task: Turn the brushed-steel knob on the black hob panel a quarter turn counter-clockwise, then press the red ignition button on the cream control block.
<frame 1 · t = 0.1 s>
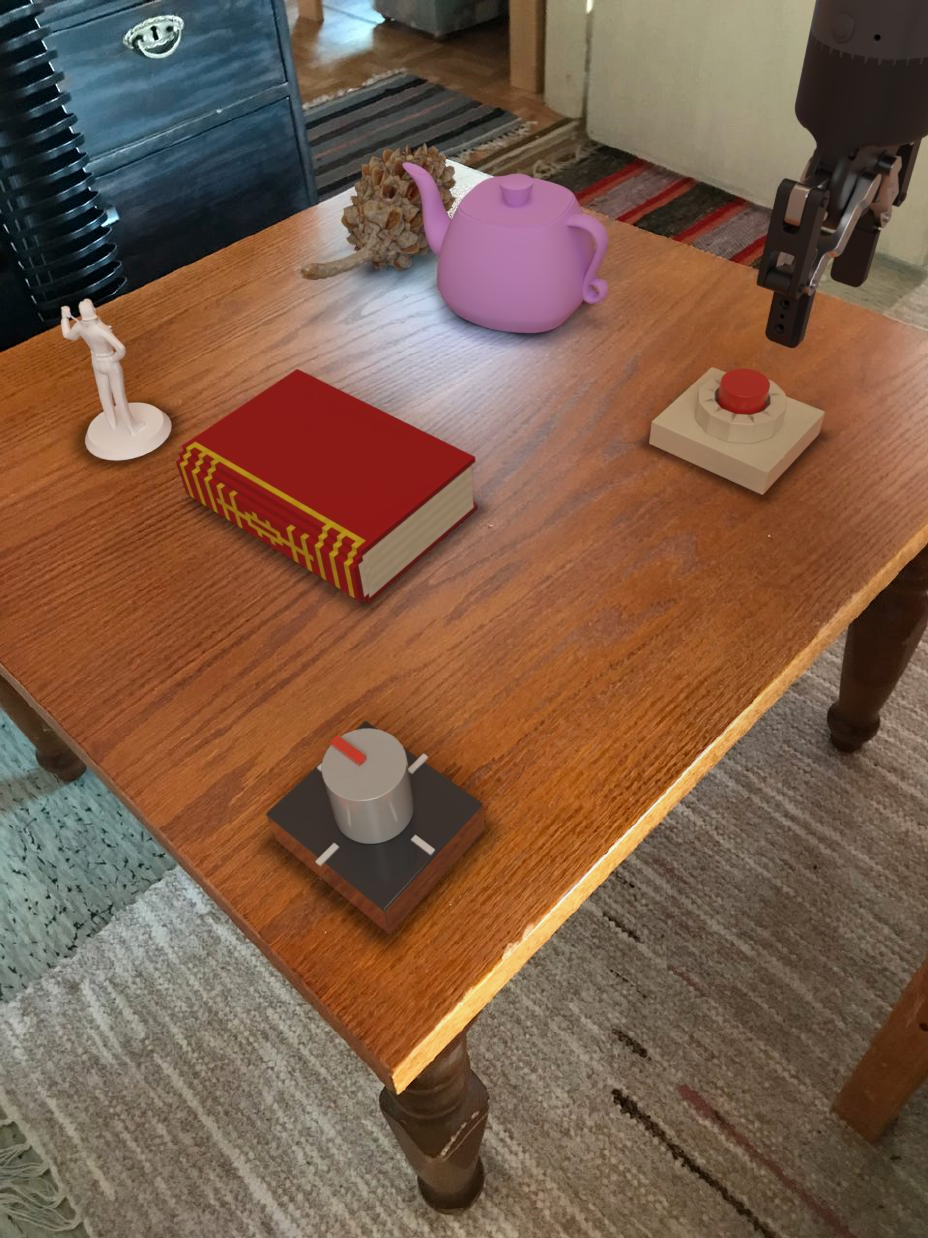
hand: (816, 310, 62), 15 cm above the table, tool pointing down, fingers open, 8 cm apart
pine cone: (383, 274, 97), on the table
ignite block: (733, 439, 78), on the table
hob panel: (380, 835, 56), on the table
figurine: (129, 434, 82), on the table
burner knob: (368, 784, 52), point 5 cm above the table, hinge at 0.0°
teapot: (505, 303, 92), on the table
ignite button: (743, 391, 74), point 4 cm above the table, slide at 0.1 cm
book: (332, 507, 75), on the table
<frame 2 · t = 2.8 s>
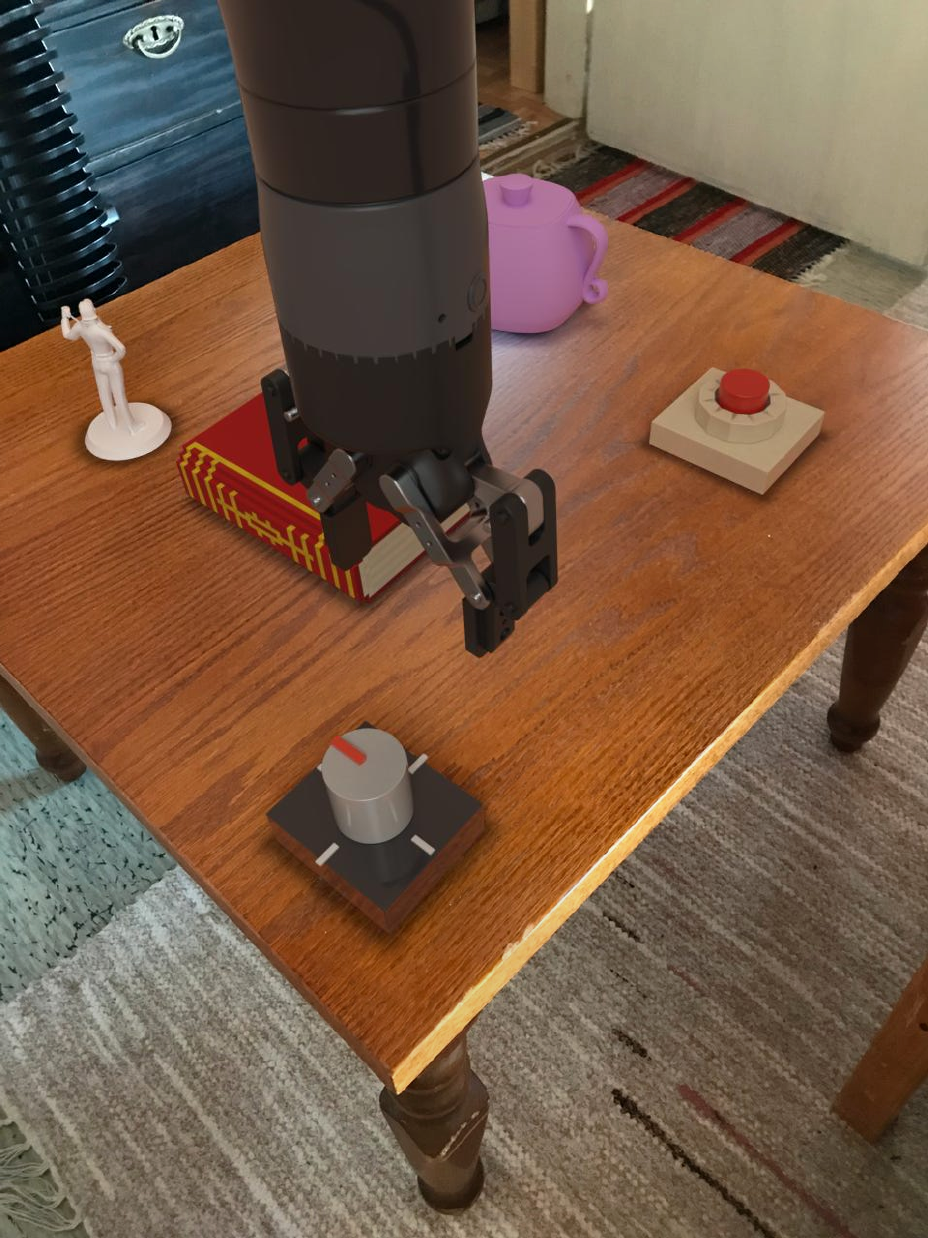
hand: (417, 599, 46), 16 cm above the table, tool pointing down, fingers open, 8 cm apart
nothing on the table moved.
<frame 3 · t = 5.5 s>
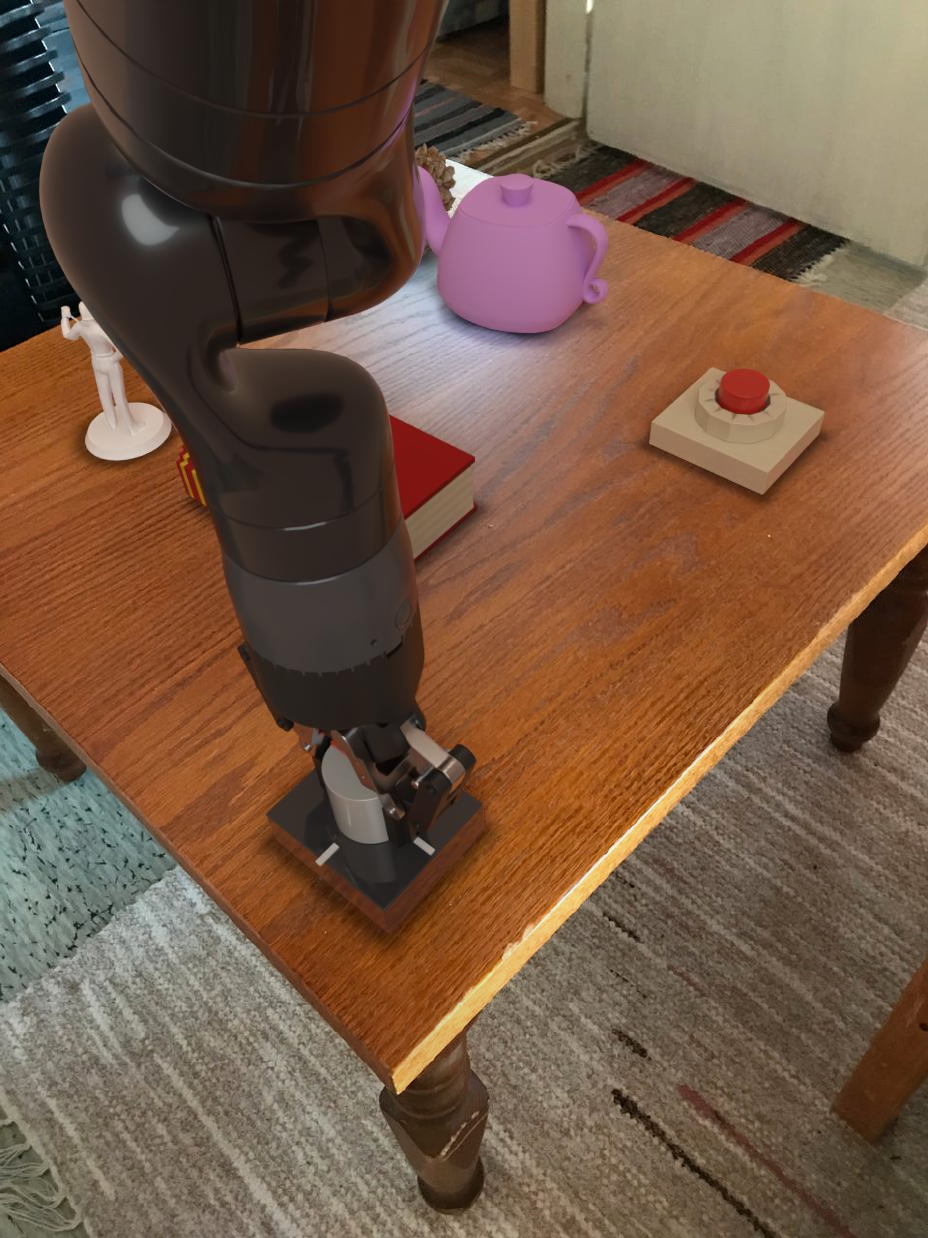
hand: (373, 806, 54), 3 cm above the table, tool pointing down, fingers closed on burner knob, 4 cm apart
burner knob: (368, 784, 52), point 5 cm above the table, hinge at -0.1°, touching gripper
everything else where it was.
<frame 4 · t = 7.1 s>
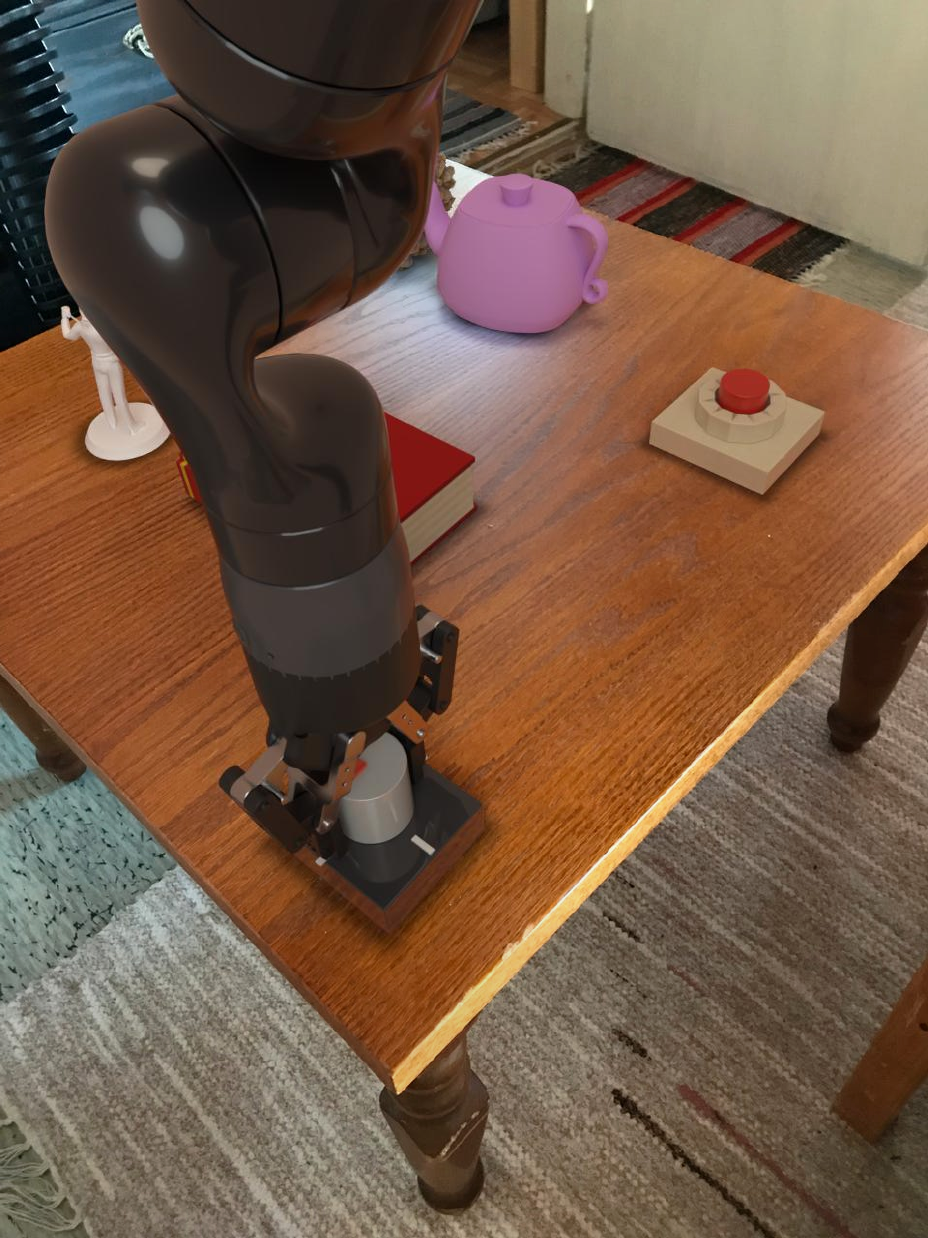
hand: (369, 808, 54), 3 cm above the table, tool pointing down, fingers open, 5 cm apart
burner knob: (368, 784, 52), point 5 cm above the table, hinge at 90.8°
everything else where it was.
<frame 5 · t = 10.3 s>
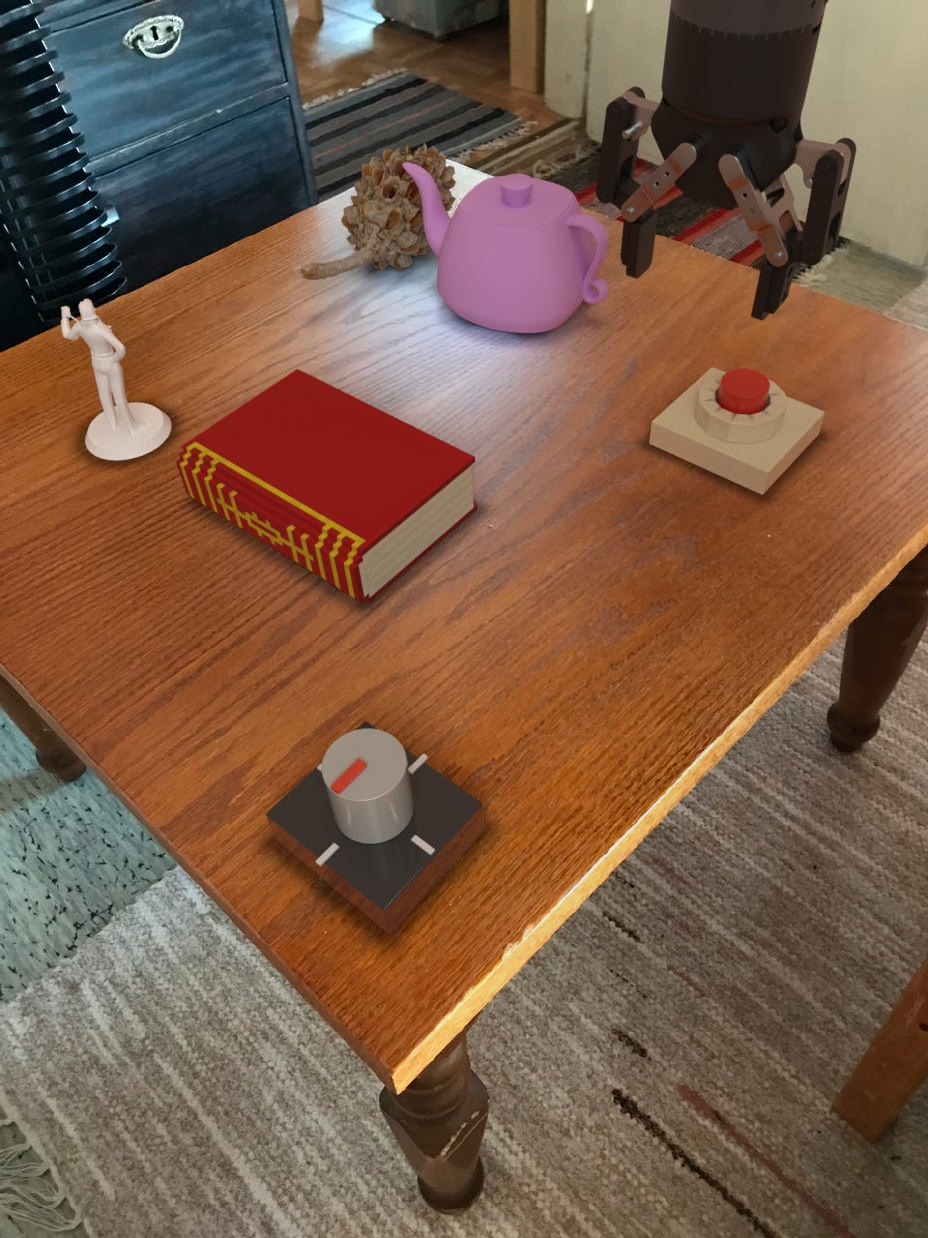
hand: (699, 292, 61), 17 cm above the table, tool pointing down, fingers open, 8 cm apart
nothing on the table moved.
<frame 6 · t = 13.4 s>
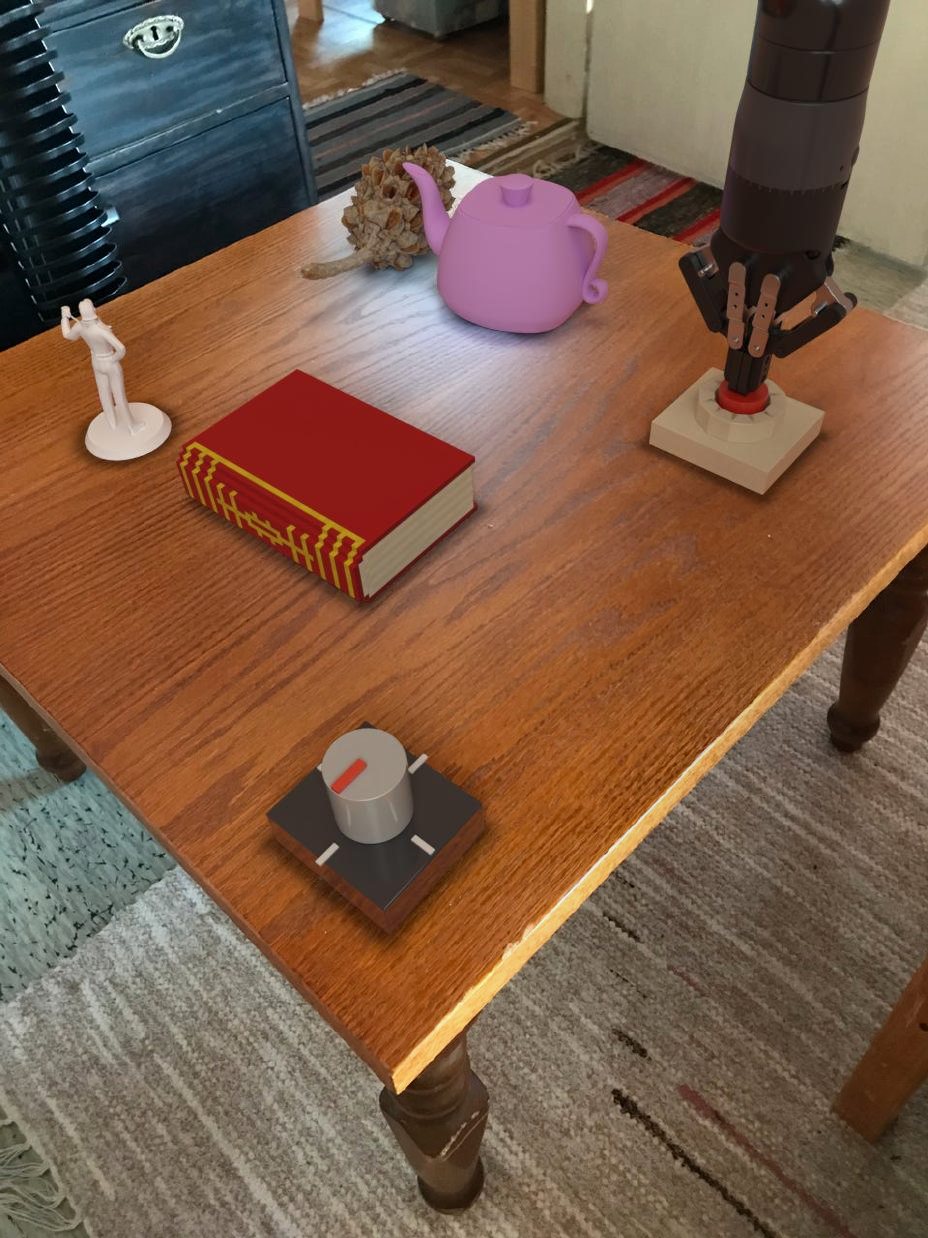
hand: (743, 388, 74), 5 cm above the table, tool pointing down, fingers closed
ignite button: (742, 398, 75), point 4 cm above the table, slide at -0.5 cm, touching gripper
everything else where it was.
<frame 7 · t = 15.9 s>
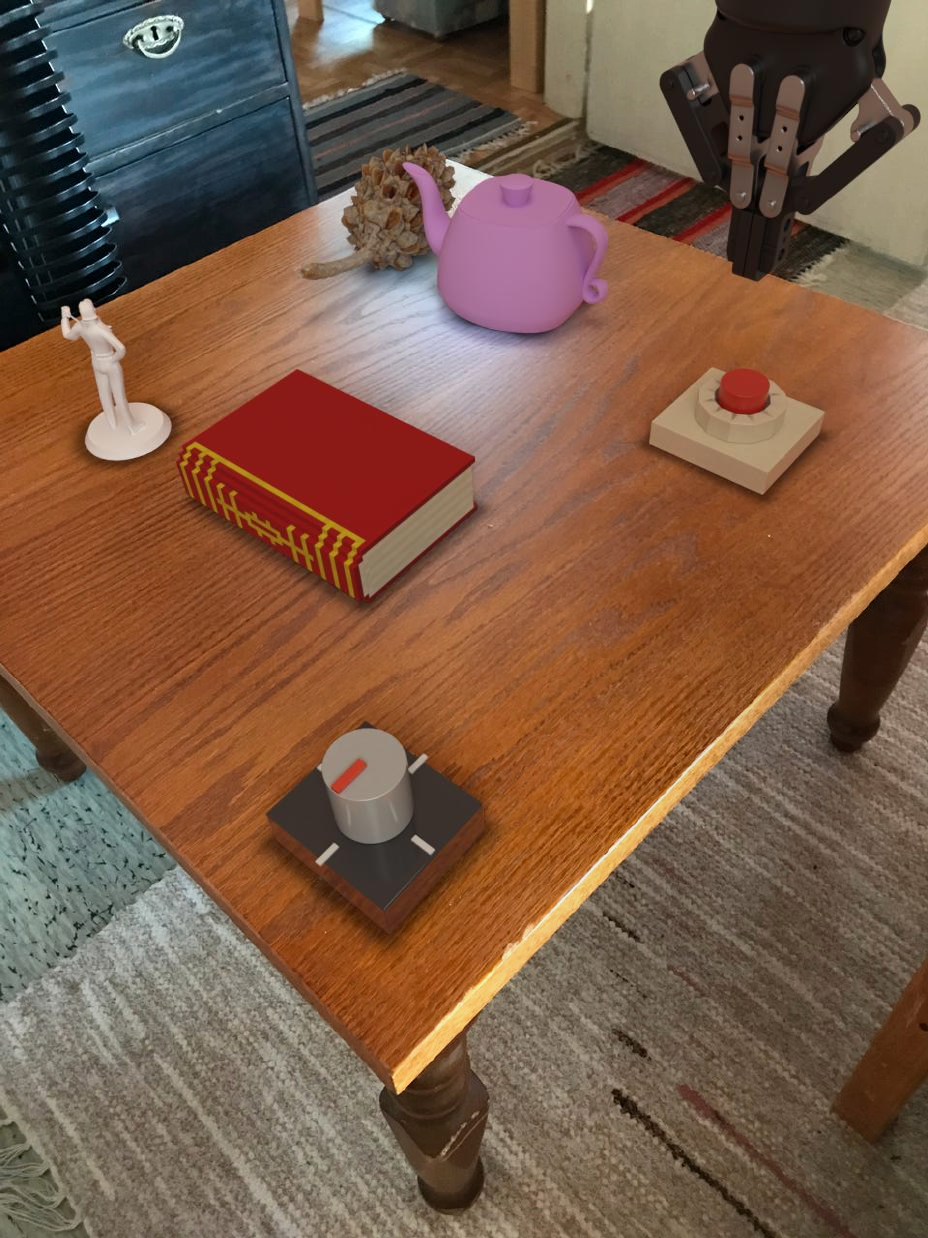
hand: (753, 271, 53), 22 cm above the table, tool pointing down, fingers closed
ignite button: (743, 391, 74), point 4 cm above the table, slide at 0.1 cm
everything else where it was.
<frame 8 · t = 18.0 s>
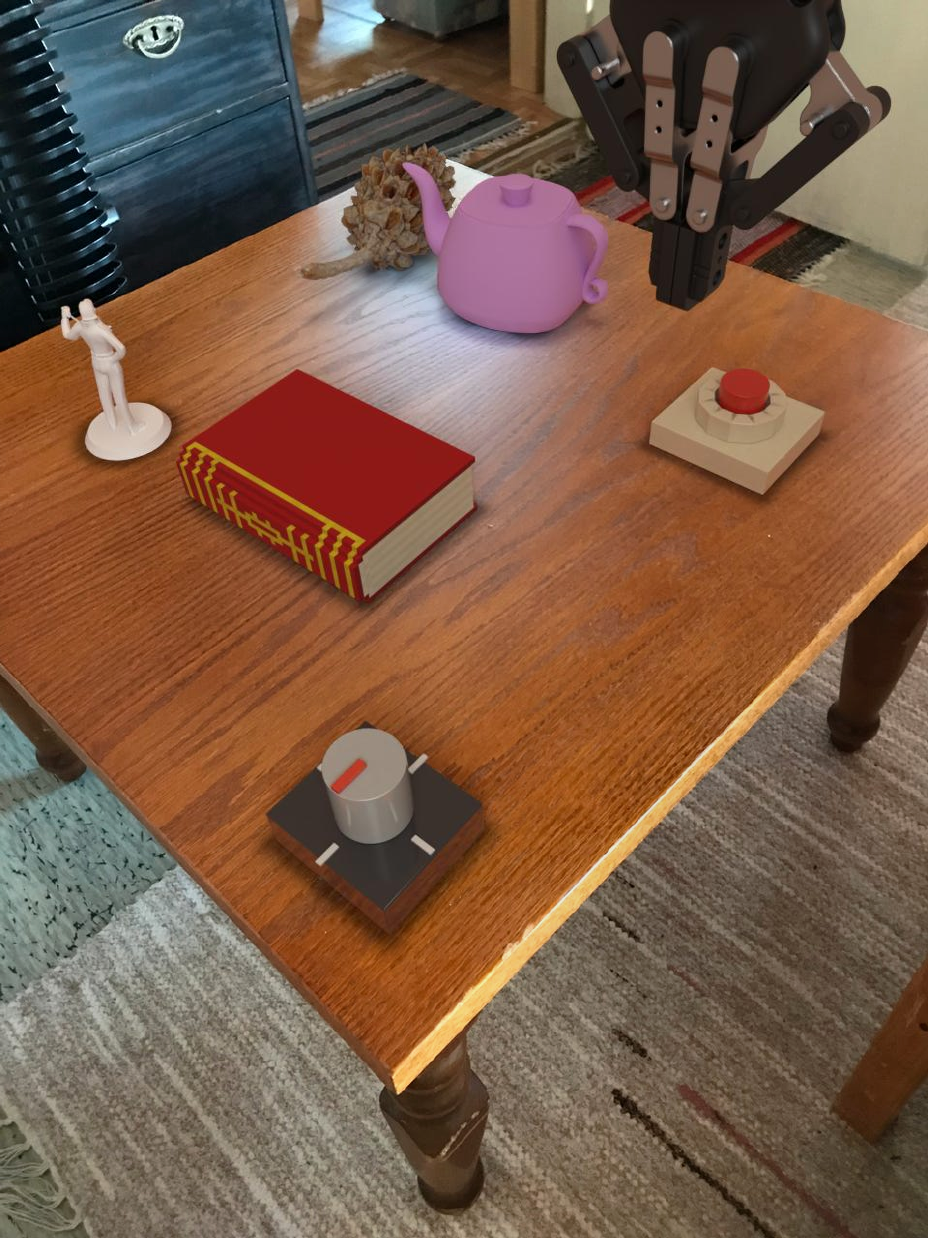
hand: (683, 298, 42), 27 cm above the table, tool pointing down, fingers closed
nothing on the table moved.
at the end: burner knob at +91° (first picture: +0°); ignite button pushed in 1.0 cm at the most during the clip, back to where it started at the end; ignite button slide at 0.1 cm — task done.
